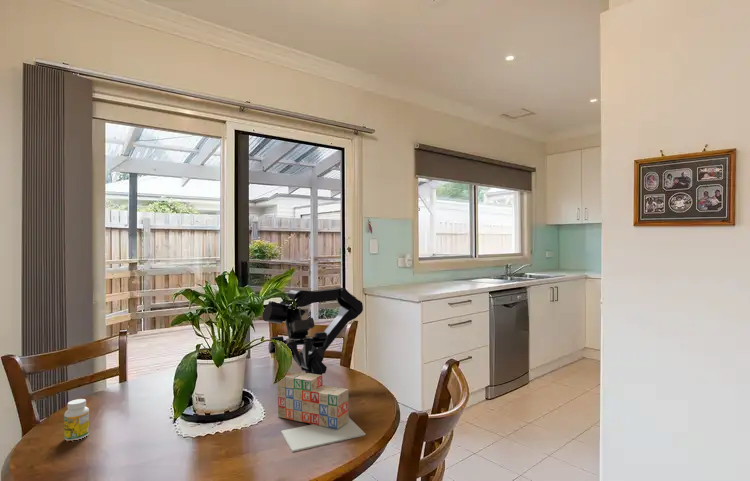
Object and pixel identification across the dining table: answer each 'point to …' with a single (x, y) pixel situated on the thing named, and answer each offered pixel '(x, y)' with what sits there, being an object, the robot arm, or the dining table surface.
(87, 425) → the supplement bottle
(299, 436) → the rubber mat
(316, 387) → the stack of blocks
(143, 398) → the dining table surface
